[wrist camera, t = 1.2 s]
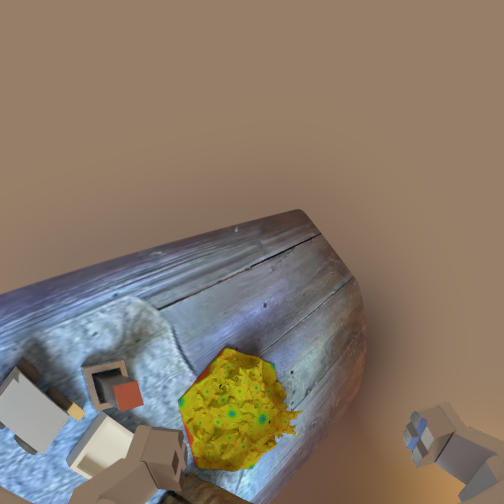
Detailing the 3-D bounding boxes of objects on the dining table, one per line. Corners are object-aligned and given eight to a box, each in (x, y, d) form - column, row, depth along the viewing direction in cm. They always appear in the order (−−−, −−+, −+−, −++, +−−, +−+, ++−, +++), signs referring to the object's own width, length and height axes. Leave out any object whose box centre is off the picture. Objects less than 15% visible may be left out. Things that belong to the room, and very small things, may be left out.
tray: (65, 459, 32) (69, 467, 30) (101, 410, 39) (107, 415, 37) (129, 496, 37) (137, 504, 34) (160, 450, 44) (170, 456, 42)
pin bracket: (92, 407, 38) (96, 411, 37) (80, 366, 39) (83, 368, 38) (129, 397, 43) (135, 400, 42) (119, 358, 44) (124, 359, 43)
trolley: (-16, 406, 26) (-24, 429, 18) (22, 355, 33) (23, 364, 25) (34, 448, 29) (42, 480, 21) (69, 399, 36) (85, 419, 28)
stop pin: (98, 395, 40) (120, 411, 32) (92, 375, 40) (113, 386, 33) (117, 390, 42) (143, 404, 35) (112, 370, 43) (137, 380, 35)
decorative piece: (320, 399, 66) (256, 503, 46) (295, 397, 71) (231, 492, 51) (268, 321, 60) (172, 441, 39) (242, 323, 65) (151, 429, 45)
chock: (64, 408, 35) (66, 412, 34) (70, 399, 37) (73, 402, 35) (75, 417, 36) (78, 421, 34) (82, 408, 37) (85, 412, 36)
